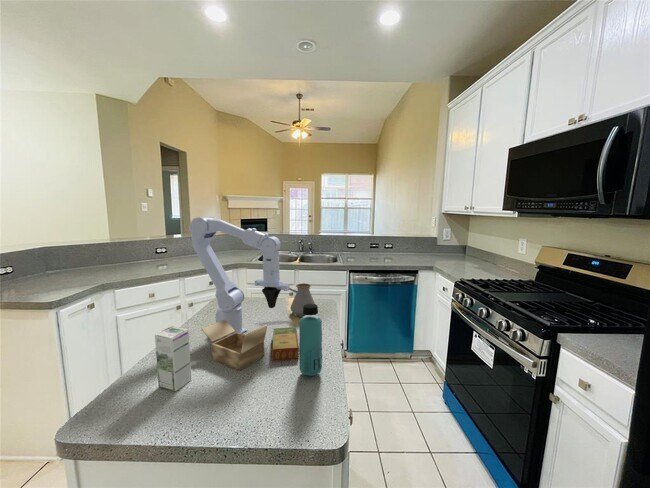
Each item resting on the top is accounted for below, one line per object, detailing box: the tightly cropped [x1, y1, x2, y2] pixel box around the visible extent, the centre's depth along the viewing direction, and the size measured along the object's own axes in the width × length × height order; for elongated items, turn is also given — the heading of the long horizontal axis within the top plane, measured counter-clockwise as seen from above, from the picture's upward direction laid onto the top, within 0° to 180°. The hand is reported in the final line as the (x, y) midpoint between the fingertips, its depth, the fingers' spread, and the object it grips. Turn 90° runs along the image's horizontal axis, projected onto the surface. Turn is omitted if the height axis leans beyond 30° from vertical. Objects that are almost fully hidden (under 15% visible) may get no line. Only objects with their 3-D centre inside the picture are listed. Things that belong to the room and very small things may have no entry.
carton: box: [271, 326, 299, 362], centre depth 95 cm, size 8×16×4 cm, turn 9°
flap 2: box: [241, 324, 268, 353], centre depth 84 cm, size 6×9×1 cm
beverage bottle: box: [298, 303, 323, 377], centre depth 79 cm, size 6×7×20 cm
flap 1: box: [201, 320, 235, 343], centre depth 92 cm, size 6×9×1 cm
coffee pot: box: [288, 282, 316, 318], centre depth 126 cm, size 21×12×15 cm, turn 84°
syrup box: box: [154, 325, 192, 392], centre depth 74 cm, size 6×6×14 cm
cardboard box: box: [210, 332, 265, 372], centre depth 88 cm, size 12×10×5 cm
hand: (272, 307), depth 104 cm, fingers closed
